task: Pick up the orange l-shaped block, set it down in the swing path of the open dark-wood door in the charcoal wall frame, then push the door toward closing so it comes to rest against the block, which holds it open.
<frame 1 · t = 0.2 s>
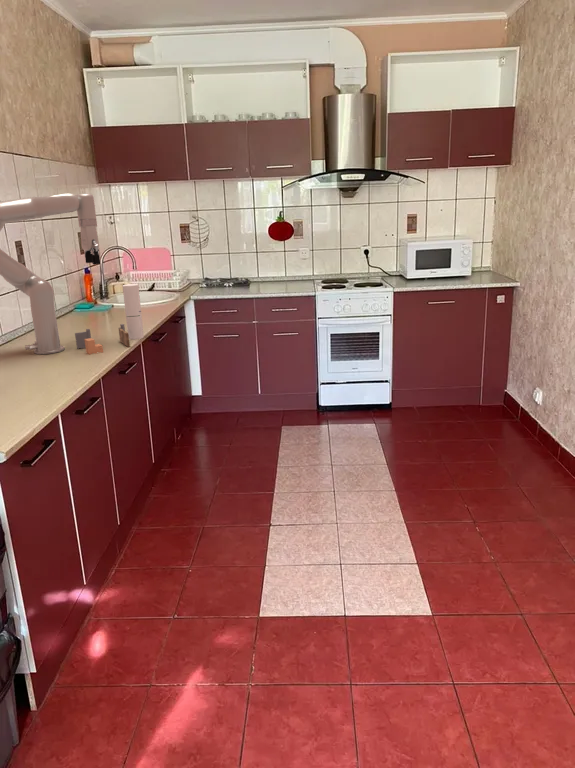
hand: (93, 263, 261), 36 cm above the worktop, tool pointing down, fingers open, 9 cm apart
cylindrical container: (136, 338, 280), on the worktop
door: (124, 336, 266), point 3 cm above the worktop, hinge at 85.0°
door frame: (121, 341, 272), on the worktop
orange l-shaped block: (94, 352, 254), on the worktop
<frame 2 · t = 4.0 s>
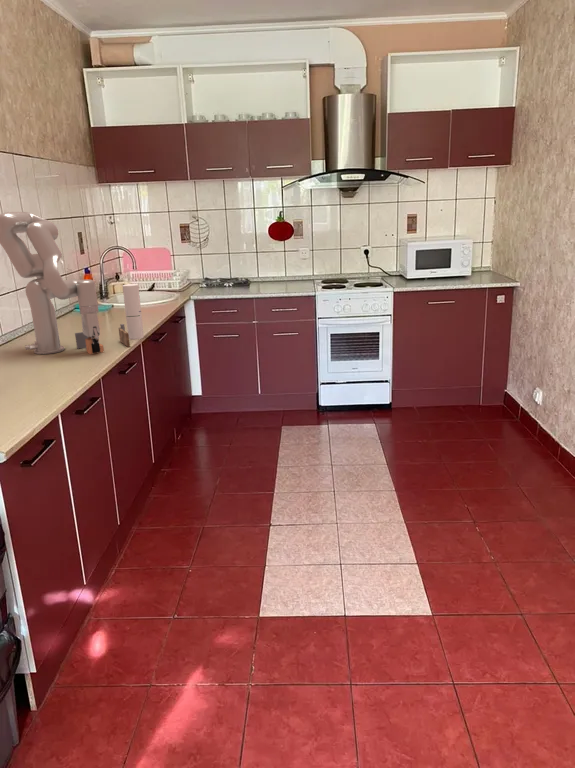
hand: (94, 350, 254), 1 cm above the worktop, tool pointing down, fingers closed on orange l-shaped block, 4 cm apart
orange l-shaped block: (95, 352, 254), on the worktop, touching gripper
everything else where it was.
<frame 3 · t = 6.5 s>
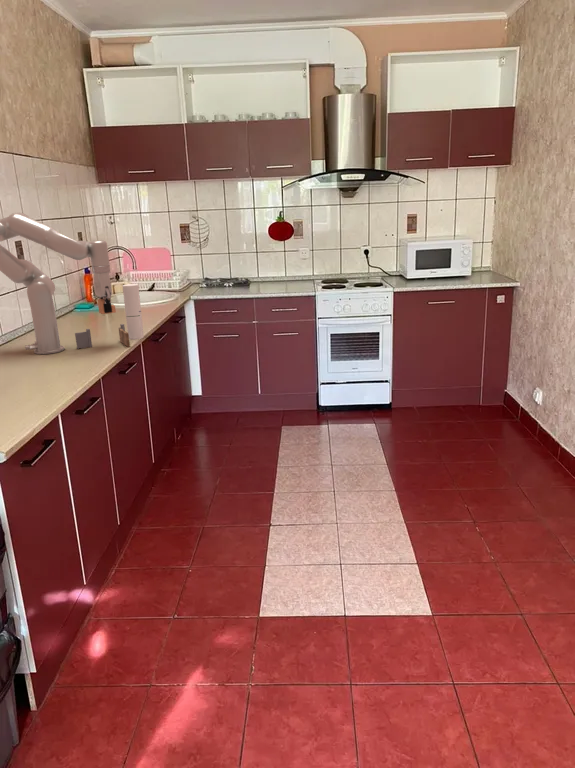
hand: (106, 311, 259), 16 cm above the worktop, tool pointing down, fingers closed on orange l-shaped block, 4 cm apart
orange l-shaped block: (107, 312, 260), point 15 cm above the worktop, touching gripper
everything else where it was.
when the fingers open (2 cm above the worktop, at t = 9.2 s): orange l-shaped block drops 2 cm, on the worktop.
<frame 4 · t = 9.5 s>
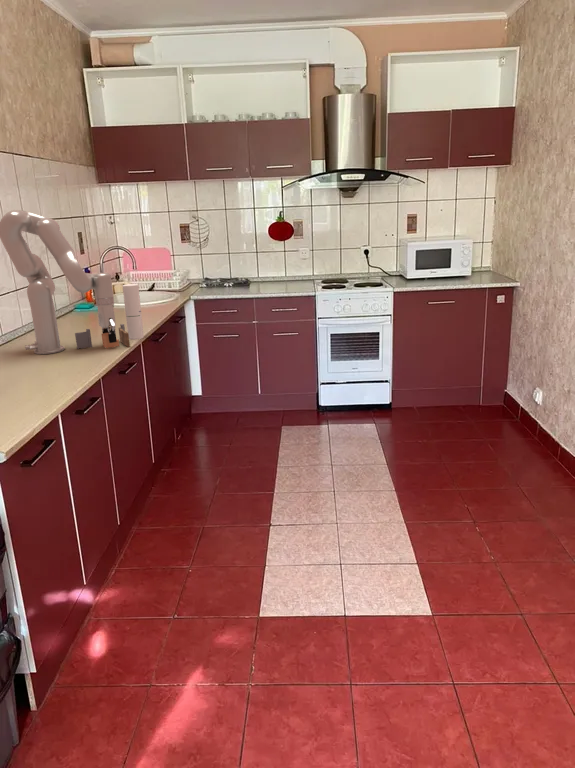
hand: (109, 340, 263), 3 cm above the worktop, tool pointing down, fingers open, 7 cm apart
orange l-shaped block: (111, 346, 264), on the worktop
everything else where it was.
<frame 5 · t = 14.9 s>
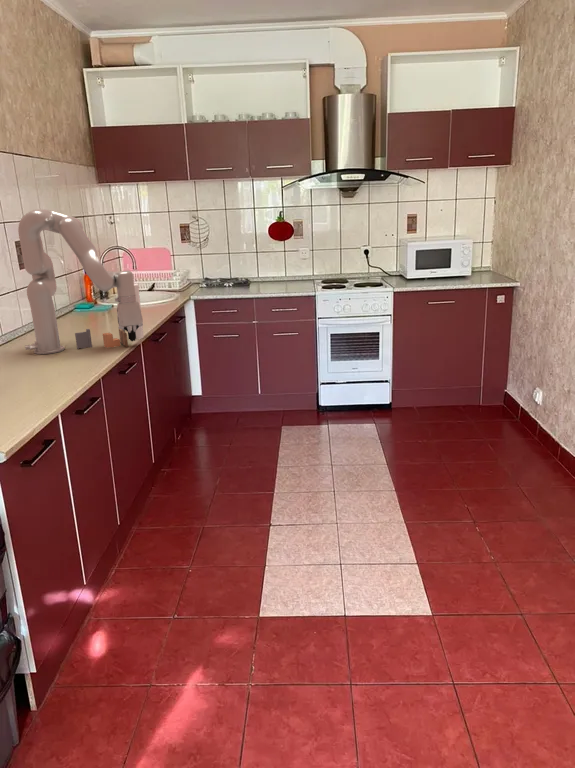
hand: (132, 340, 263), 2 cm above the worktop, tool pointing down, fingers closed
door: (123, 337, 266), point 3 cm above the worktop, hinge at 81.7°, touching gripper
everything else where it was.
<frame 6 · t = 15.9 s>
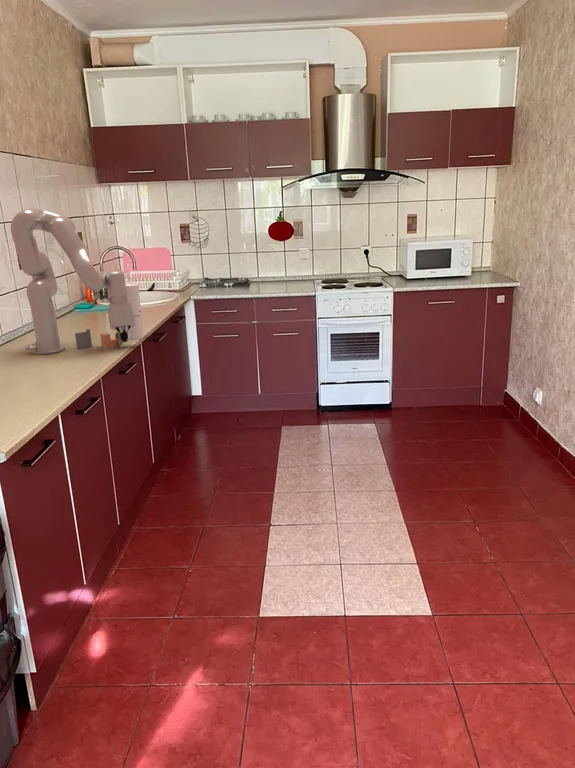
hand: (124, 340, 261), 3 cm above the worktop, tool pointing down, fingers closed
door: (118, 337, 265), point 3 cm above the worktop, hinge at 64.7°, touching gripper
orange l-shaped block: (110, 346, 264), on the worktop
everything else where it was.
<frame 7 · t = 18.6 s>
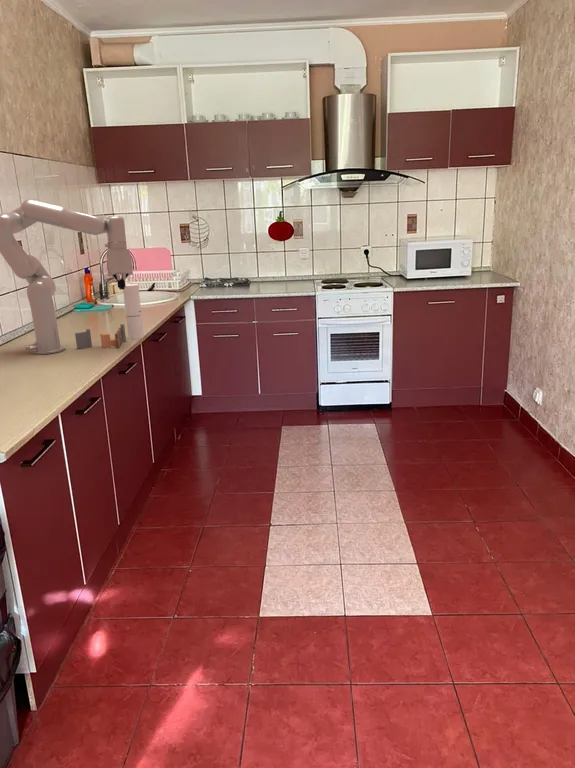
hand: (121, 289, 257), 25 cm above the worktop, tool pointing down, fingers closed
door: (118, 337, 265), point 3 cm above the worktop, hinge at 64.0°, touching orange l-shaped block
orange l-shaped block: (109, 346, 265), on the worktop, touching door
everything else where it was.
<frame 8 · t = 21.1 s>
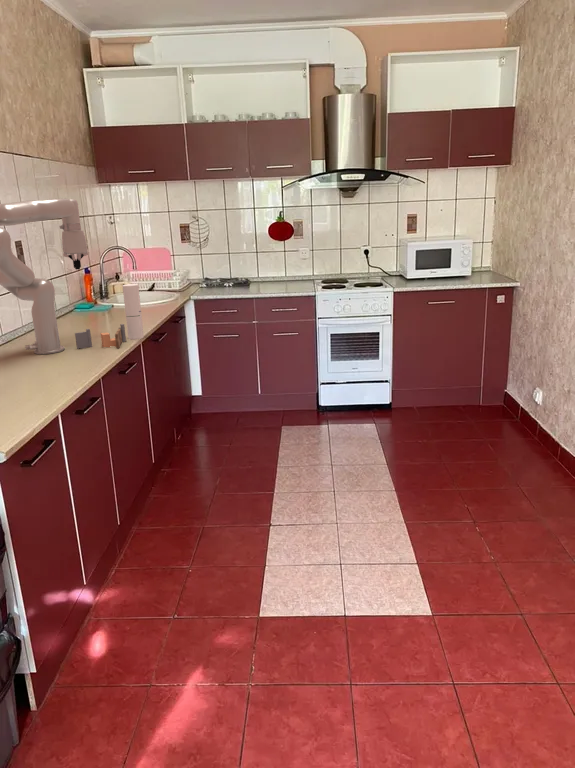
hand: (77, 269, 269), 33 cm above the worktop, tool pointing down, fingers closed
door: (118, 337, 265), point 3 cm above the worktop, hinge at 64.4°
orange l-shaped block: (110, 346, 265), on the worktop
everything else where it was.
at the end: orange l-shaped block 1.0 cm from the target spot, on the worktop; orange l-shaped block tilted 0°; door at +64° (first picture: +85°) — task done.
